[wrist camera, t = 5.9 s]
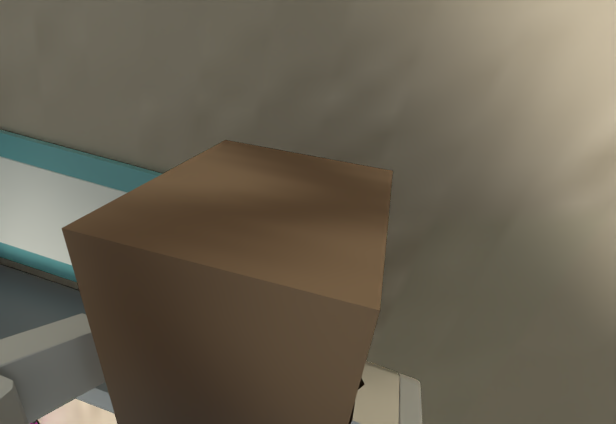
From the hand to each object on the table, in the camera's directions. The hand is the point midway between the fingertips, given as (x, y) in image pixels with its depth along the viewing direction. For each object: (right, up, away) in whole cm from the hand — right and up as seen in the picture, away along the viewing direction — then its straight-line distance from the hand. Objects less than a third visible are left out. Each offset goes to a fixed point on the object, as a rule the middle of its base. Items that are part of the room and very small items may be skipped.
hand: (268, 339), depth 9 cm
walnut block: (+1, +1, +2) cm, 2 cm away
